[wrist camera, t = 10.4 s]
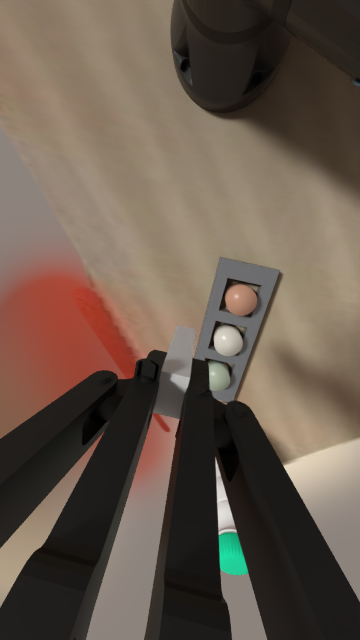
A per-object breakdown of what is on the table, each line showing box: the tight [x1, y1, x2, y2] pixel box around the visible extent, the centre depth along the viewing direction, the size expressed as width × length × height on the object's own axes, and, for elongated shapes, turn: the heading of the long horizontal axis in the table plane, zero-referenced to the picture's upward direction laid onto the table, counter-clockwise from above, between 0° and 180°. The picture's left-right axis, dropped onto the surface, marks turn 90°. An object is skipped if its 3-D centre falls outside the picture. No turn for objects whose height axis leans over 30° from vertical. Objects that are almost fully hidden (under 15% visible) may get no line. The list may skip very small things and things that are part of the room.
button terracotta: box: [224, 282, 257, 316], centre depth 38 cm, size 5×5×4 cm
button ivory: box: [214, 323, 243, 356], centre depth 41 cm, size 5×5×4 cm
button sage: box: [207, 359, 230, 391], centre depth 43 cm, size 5×5×4 cm
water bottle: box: [215, 402, 248, 575], centre depth 37 cm, size 7×7×25 cm
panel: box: [194, 257, 280, 402], centre depth 42 cm, size 28×10×2 cm, turn 169°
